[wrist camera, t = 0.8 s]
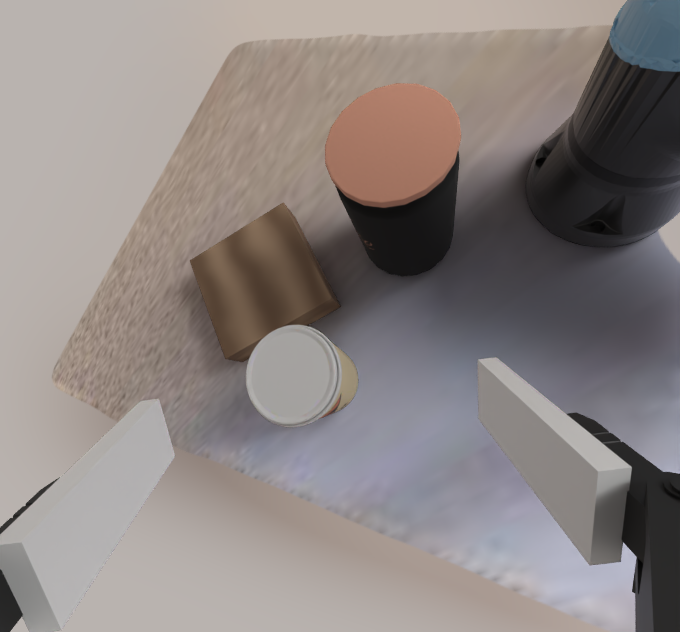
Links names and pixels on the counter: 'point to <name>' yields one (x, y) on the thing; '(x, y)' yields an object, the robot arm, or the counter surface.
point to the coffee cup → (299, 376)
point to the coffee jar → (398, 174)
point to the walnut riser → (261, 282)
